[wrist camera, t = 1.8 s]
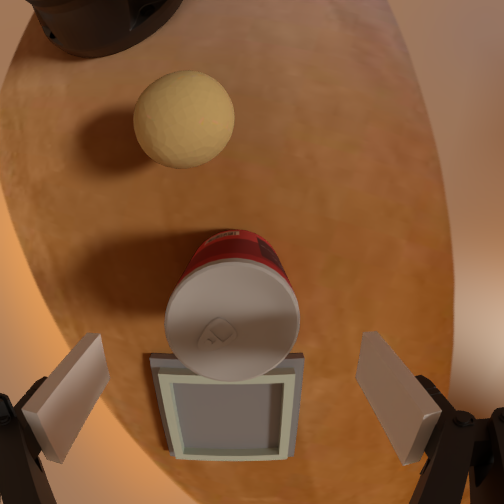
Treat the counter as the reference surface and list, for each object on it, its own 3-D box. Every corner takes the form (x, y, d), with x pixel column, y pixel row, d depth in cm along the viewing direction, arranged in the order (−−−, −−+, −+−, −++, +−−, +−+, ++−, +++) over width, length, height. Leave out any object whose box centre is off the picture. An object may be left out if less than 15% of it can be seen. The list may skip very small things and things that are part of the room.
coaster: (151, 353, 30) (146, 364, 28) (302, 352, 30) (306, 364, 28) (171, 450, 33) (169, 462, 31) (292, 450, 34) (294, 463, 32)
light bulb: (247, 152, 26) (252, 137, 16) (178, 182, 26) (144, 186, 17) (218, 86, 25) (207, 40, 15) (150, 117, 25) (105, 89, 15)
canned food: (175, 285, 28) (141, 345, 18) (221, 209, 27) (209, 231, 16) (246, 327, 30) (250, 402, 19) (296, 257, 28) (328, 305, 18)
